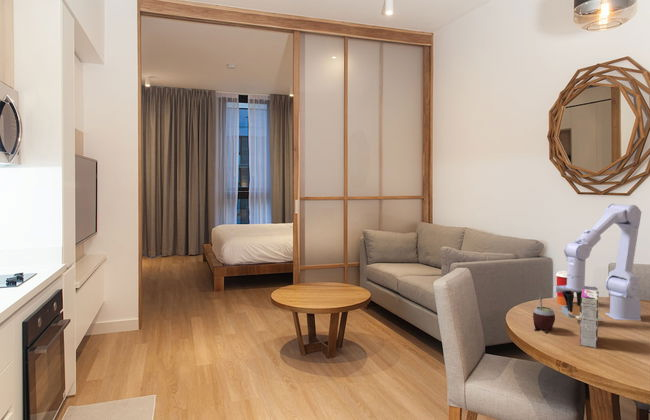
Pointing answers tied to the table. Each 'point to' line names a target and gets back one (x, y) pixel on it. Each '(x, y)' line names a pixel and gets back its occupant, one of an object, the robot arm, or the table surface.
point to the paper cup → (561, 282)
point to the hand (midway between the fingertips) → (574, 311)
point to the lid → (577, 312)
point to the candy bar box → (589, 318)
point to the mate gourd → (543, 317)
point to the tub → (566, 311)
